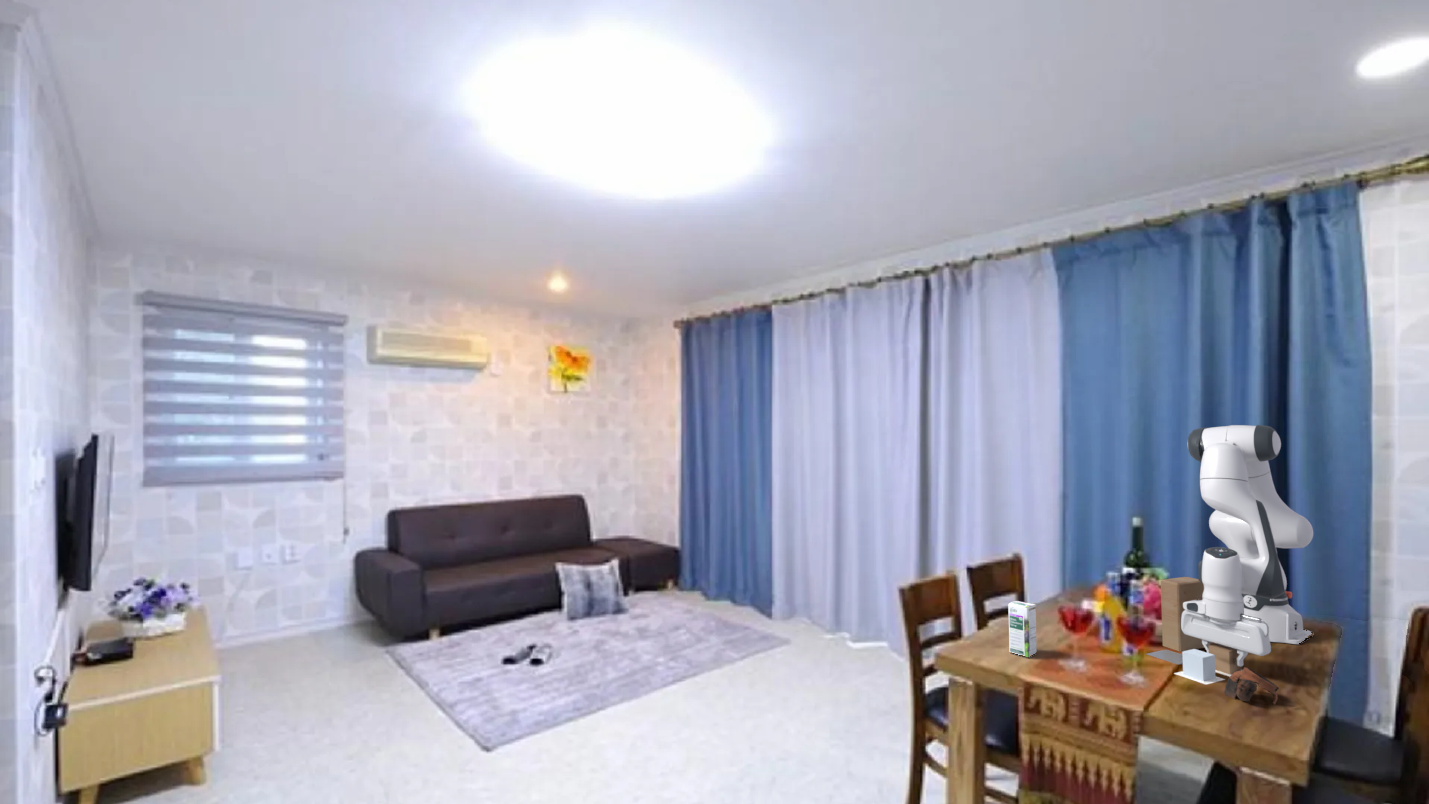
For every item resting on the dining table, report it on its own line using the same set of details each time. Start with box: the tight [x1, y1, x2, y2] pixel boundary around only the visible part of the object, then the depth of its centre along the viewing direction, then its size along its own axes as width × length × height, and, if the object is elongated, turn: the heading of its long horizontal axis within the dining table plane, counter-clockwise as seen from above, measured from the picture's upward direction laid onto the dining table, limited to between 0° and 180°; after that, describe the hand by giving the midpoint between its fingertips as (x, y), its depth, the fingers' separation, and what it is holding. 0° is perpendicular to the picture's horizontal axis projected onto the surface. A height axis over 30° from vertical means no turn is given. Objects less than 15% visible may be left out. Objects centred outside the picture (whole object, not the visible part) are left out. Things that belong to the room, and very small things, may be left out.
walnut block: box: [1209, 643, 1242, 674], centre depth 175 cm, size 5×5×6 cm
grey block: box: [1181, 649, 1217, 681], centre depth 171 cm, size 5×5×6 cm
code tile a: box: [1215, 669, 1243, 678], centre depth 175 cm, size 8×8×1 cm
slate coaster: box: [1146, 649, 1183, 666], centre depth 185 cm, size 9×9×1 cm
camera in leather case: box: [1223, 666, 1280, 705], centre depth 157 cm, size 12×10×8 cm
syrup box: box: [1007, 600, 1038, 658], centre depth 190 cm, size 6×6×14 cm
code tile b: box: [1173, 670, 1227, 686], centre depth 171 cm, size 8×8×1 cm
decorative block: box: [1160, 576, 1205, 652], centre depth 194 cm, size 11×6×20 cm, turn 107°
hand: (1224, 661), depth 175 cm, fingers closed on walnut block, 5 cm apart
